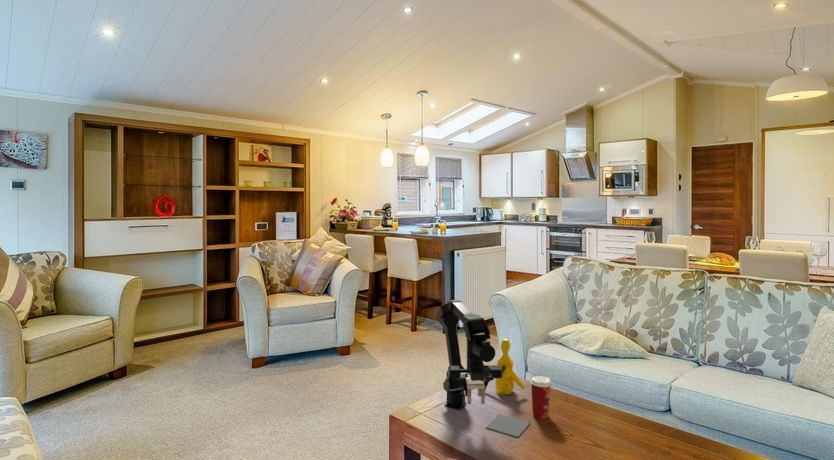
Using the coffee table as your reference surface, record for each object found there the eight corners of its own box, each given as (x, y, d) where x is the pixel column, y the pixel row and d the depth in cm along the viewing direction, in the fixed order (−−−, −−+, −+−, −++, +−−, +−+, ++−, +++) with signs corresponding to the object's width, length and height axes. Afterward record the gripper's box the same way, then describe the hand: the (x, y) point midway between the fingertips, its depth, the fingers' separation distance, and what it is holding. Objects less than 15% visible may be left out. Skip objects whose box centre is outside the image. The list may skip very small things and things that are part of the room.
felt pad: (485, 428, 162) (485, 427, 162) (499, 414, 172) (499, 413, 172) (518, 437, 156) (518, 436, 156) (530, 423, 166) (530, 422, 166)
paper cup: (552, 421, 167) (552, 384, 166) (530, 419, 169) (530, 382, 168) (550, 411, 175) (550, 376, 174) (529, 409, 176) (530, 374, 175)
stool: (464, 395, 167) (464, 377, 166) (481, 394, 167) (481, 376, 167) (467, 404, 159) (467, 385, 159) (484, 403, 160) (485, 385, 159)
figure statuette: (481, 392, 192) (482, 341, 191) (485, 385, 200) (485, 336, 198) (524, 398, 186) (525, 345, 185) (526, 390, 194) (527, 340, 192)
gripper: (450, 360, 154) (450, 405, 155) (505, 360, 154) (505, 405, 155) (447, 349, 165) (447, 391, 166) (499, 349, 165) (499, 391, 166)
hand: (474, 395), depth 163 cm, fingers closed on stool, 5 cm apart
